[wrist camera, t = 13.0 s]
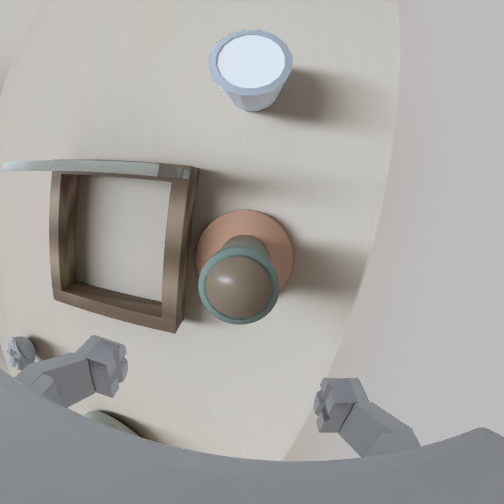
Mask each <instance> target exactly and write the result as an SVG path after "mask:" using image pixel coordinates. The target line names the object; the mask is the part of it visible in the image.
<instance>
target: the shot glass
mask: <svg viewBox="0 0 504 504" xmlns="http://www.w3.org/2000/svg"><path fill="white" fill-rule="evenodd" d="M208 67H209V70H210V72H211V75H212V77H213V80H214V81H215V82H216V84H217V85H218V86H219V88H220V89H221V90H222V92H223V93H224V94H225V96H226V97H227V98H228V100H229V101H230V102H231V103H232V104H233V105H234V106H235V107H237V108H240V109H242V110H245V111H259V110H262V109H265V108H267V107H269V106H270V105H271V104H272V103H274V102H275V100H276V98H277V96H278V94H279V93H280V91H281V89H282V87H283V85H284V83H285V82H286V80H287V78H288V76H289V74H290V72H291V71H292V55H291V53H290V51H289V49H288V47H287V45H286V44H285V43H284V42H283V41H282V40H280V39H279V38H278V37H277V36H275V35H273V34H270V33H267V32H265V31H262V30H242V31H238V32H235V33H231V34H229V35H227V36H226V37H225V38H223V39H222V40H220V41H219V42H218V43H217V44H216V45H215V47H214V48H213V50H212V52H211V53H210V57H209V66H208Z"/></svg>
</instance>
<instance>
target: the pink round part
mask: <svg viewBox="0 0 504 504" xmlns="http://www.w3.org/2000/svg"><path fill="white" fill-rule="evenodd" d="M237 235H251V236H254V237H256V238H258V239H259V240H261V241H262V242H263V243H264V244H265V246H266V247H267V249H268V251H269V255H270V261H271V262H272V264H273V265H274V267H275V269H276V272H277V275H278V280H279V291H280V290H281V289H282V288H283V287H284V286H285V284H286V282H287V281H288V279H289V277H290V274H291V271H292V267H293V250H292V246H291V242H290V240H289V238H288V236H287V234H286V233H285V231H284V230H283V228H282V227H281V226H280V225H279V224H278V223H277V222H276V221H275V220H274V219H272V218H271V217H269V216H267V215H265V214H263V213H260V212H257V211H253V210H236V211H231V212H228V213H226V214H224V215H221V216H220V217H218V218H217V219H215V220H214V221H213V222H212V223H210V224H209V225H208V227H207V228H206V229H205V230H204V232H203V233H202V235H201V237H200V239H199V241H198V244H197V249H196V266H197V270H198V273H199V276H200V273H201V271H202V269H203V267H204V265H205V264H206V263H207V261H208V260H209V259H210V257H211V256H212V255H214V254H215V253H216V252H218V251H219V250H220V249H221V248H222V246H223V245H224V243H225V242H226V241H227V240H229V239H230V238H232V237H234V236H237Z"/></svg>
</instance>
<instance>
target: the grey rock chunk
mask: <svg viewBox="0 0 504 504" xmlns="http://www.w3.org/2000/svg"><path fill="white" fill-rule="evenodd" d="M6 350H7V351H6V352H7V356H8V357H7V358H8V361H9V362H10V364H11V365H12V366H13V367H16V368H17V369H18V370H23V369H24V368H25V367H26V366H27V365H28V364H31V363H34V360H35V355H36V351H35V347H34V345H33V343H32V342H31V341H30V340H29V339H27V338H25V337H12V338H11V339H10V342H9V344H8V345H7V348H6Z"/></svg>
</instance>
